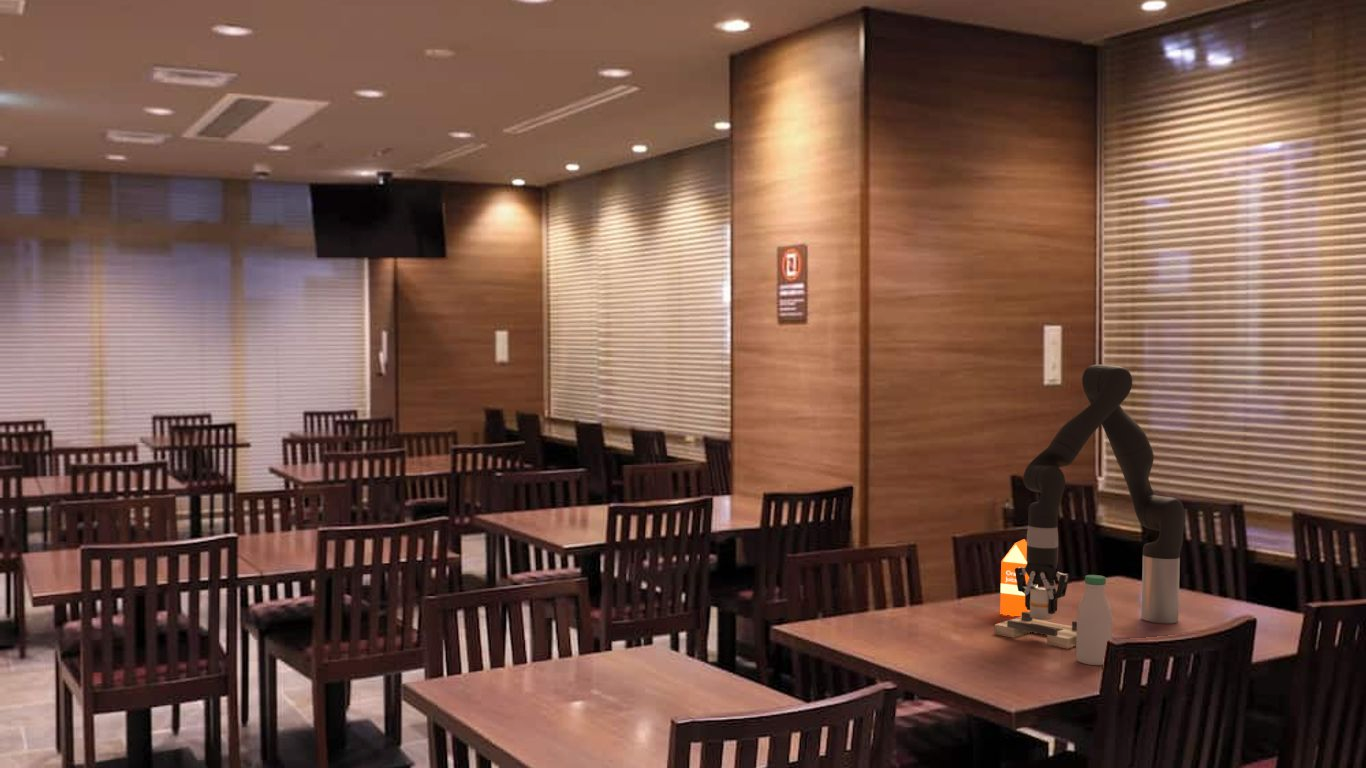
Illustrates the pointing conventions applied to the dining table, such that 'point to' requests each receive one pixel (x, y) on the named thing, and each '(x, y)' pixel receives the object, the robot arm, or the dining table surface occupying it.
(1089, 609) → the milk bottle
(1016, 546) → the orange juice
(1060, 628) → the shelf board
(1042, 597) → the orange-banded white cylinder
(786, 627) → the dining table surface
